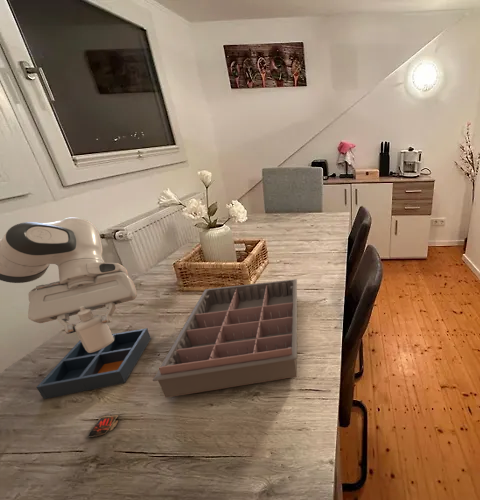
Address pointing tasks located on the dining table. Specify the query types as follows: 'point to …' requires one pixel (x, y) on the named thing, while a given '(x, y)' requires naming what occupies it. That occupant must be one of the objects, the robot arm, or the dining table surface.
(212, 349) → the organizer tray
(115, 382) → the grid
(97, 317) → the eye dropper bottle
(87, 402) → the dining table surface
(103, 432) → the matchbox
